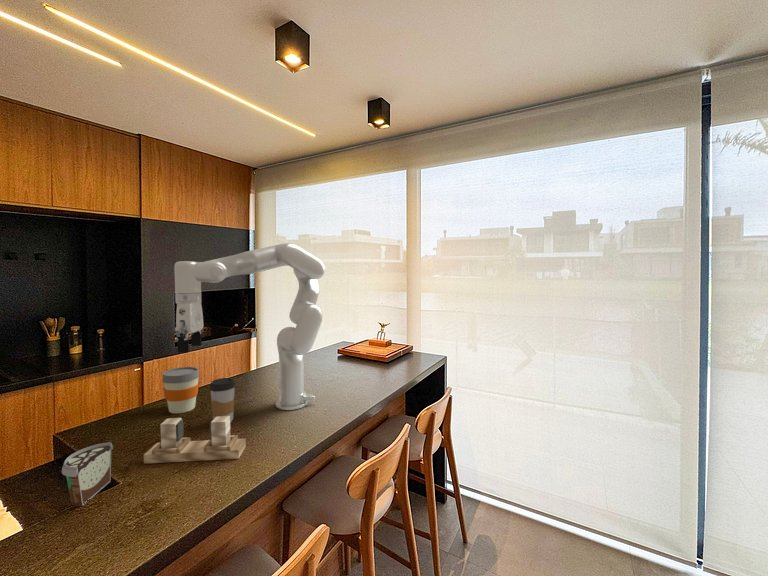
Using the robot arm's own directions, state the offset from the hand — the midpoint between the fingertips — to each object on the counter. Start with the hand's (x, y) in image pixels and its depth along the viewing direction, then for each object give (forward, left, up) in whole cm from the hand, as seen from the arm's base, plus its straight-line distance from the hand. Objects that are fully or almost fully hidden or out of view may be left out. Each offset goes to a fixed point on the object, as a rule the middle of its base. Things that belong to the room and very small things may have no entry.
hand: (190, 348), depth 117 cm
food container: (+12, +32, -28) cm, 44 cm away
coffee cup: (-8, -6, -28) cm, 30 cm away
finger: (-1, +16, -26) cm, 30 cm away
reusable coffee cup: (+12, -20, -28) cm, 37 cm away
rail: (-8, +16, -28) cm, 33 cm away
